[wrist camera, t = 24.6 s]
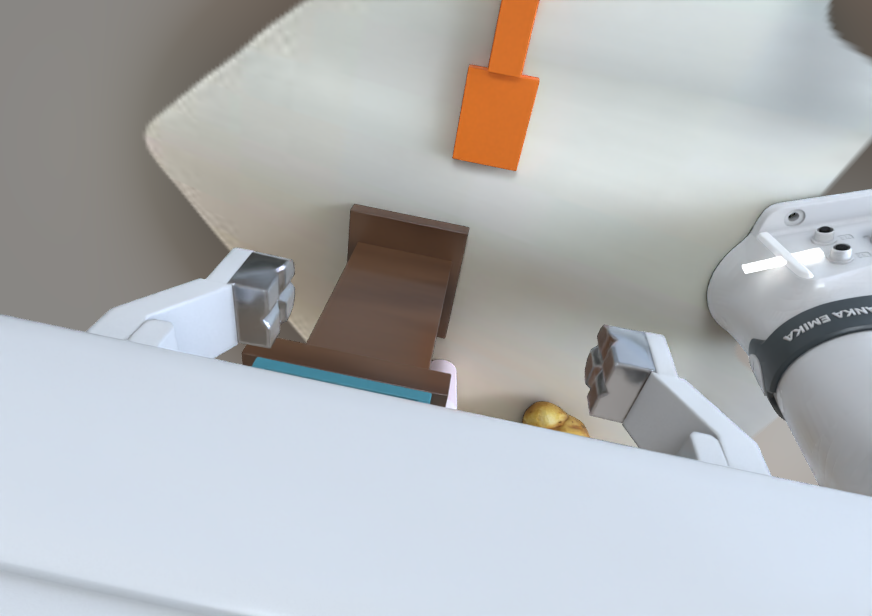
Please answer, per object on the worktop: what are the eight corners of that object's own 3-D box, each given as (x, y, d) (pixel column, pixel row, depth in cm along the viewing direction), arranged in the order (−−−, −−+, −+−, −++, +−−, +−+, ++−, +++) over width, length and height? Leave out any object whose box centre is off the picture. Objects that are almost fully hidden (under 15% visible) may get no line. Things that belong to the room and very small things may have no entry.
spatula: (502, -116, 37) (501, -117, 36) (585, -100, 37) (587, -101, 36) (453, 154, 50) (451, 160, 48) (516, 167, 49) (516, 173, 48)
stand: (350, 184, 53) (241, 352, 32) (478, 210, 53) (448, 396, 32) (343, 309, 62) (255, 498, 42) (450, 331, 62) (414, 532, 42)
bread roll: (511, 395, 67) (509, 445, 61) (590, 390, 65) (597, 442, 58) (523, 459, 74) (522, 511, 68) (594, 458, 72) (601, 511, 66)
